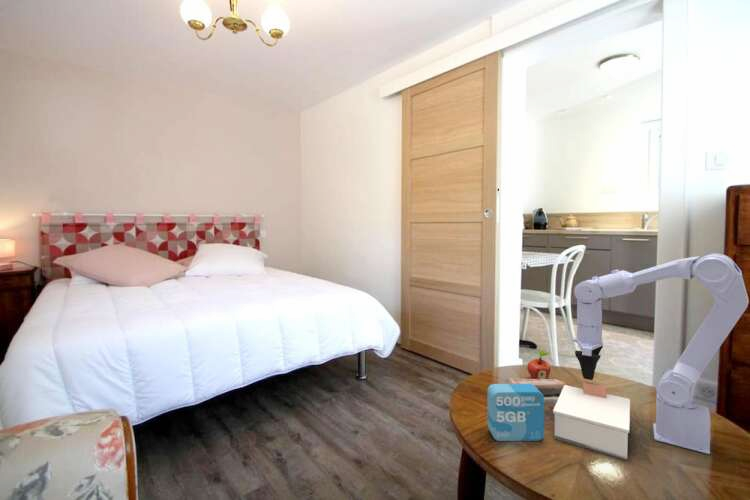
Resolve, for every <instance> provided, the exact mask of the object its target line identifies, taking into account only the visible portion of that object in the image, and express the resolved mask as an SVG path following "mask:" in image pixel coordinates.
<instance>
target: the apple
mask: <svg viewBox="0 0 750 500" xmlns="http://www.w3.org/2000/svg"><path fill="white" fill-rule="evenodd" d="M548 354H549V352H548V351H546V349H540V350H539V357H538V358H534V359H532V360H529V362H528V363H527V368H526V369H527V372H528V374H529V375H530V379H549V377H550V374H551V364H550V363H549V362H548V361H546V360H545V359H542V357H544V356H548Z"/></svg>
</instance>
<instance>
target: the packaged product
mask: <svg viewBox="0 0 750 500" xmlns="http://www.w3.org/2000/svg"><path fill="white" fill-rule="evenodd" d="M505 384H533V385H534V386H535V387H536V388H537V389H538V390H539V391H540V392H541V393H542V394H543V396H544V404H556V403H557V401H558V398H559V396H560V394H561V392H562V389H563V387H564V385H567V384H566V383H565V381H562V380H560V379H554V378H553V379H552V378H547V379H532V378H508V379H506V382H505Z"/></svg>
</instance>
